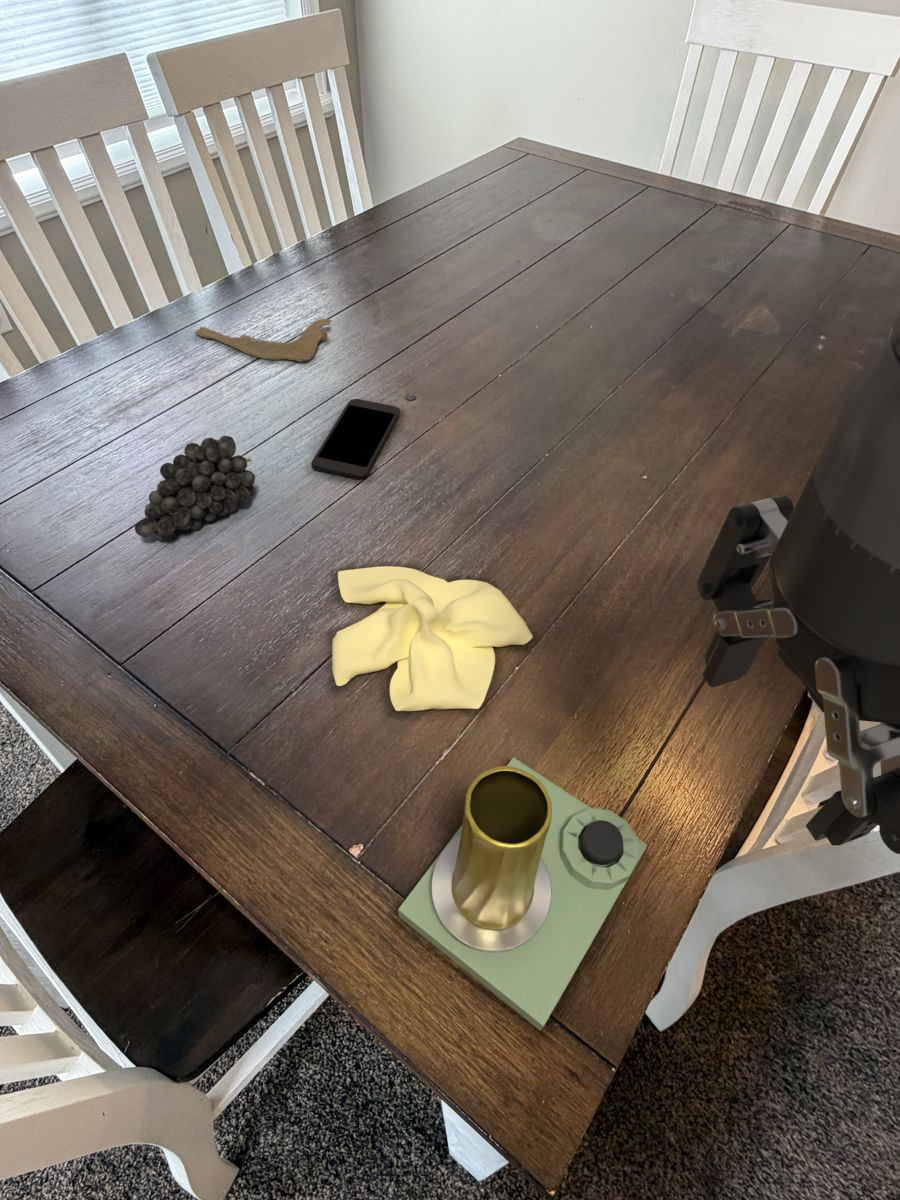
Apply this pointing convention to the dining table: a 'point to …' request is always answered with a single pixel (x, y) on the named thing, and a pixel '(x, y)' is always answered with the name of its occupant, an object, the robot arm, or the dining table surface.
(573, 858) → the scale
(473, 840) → the vase
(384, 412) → the smartphone
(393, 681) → the cloth
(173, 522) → the fruit
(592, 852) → the button
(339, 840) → the dining table surface
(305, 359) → the jawbone
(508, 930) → the weighing plate
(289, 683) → the dining table surface
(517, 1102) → the dining table surface
